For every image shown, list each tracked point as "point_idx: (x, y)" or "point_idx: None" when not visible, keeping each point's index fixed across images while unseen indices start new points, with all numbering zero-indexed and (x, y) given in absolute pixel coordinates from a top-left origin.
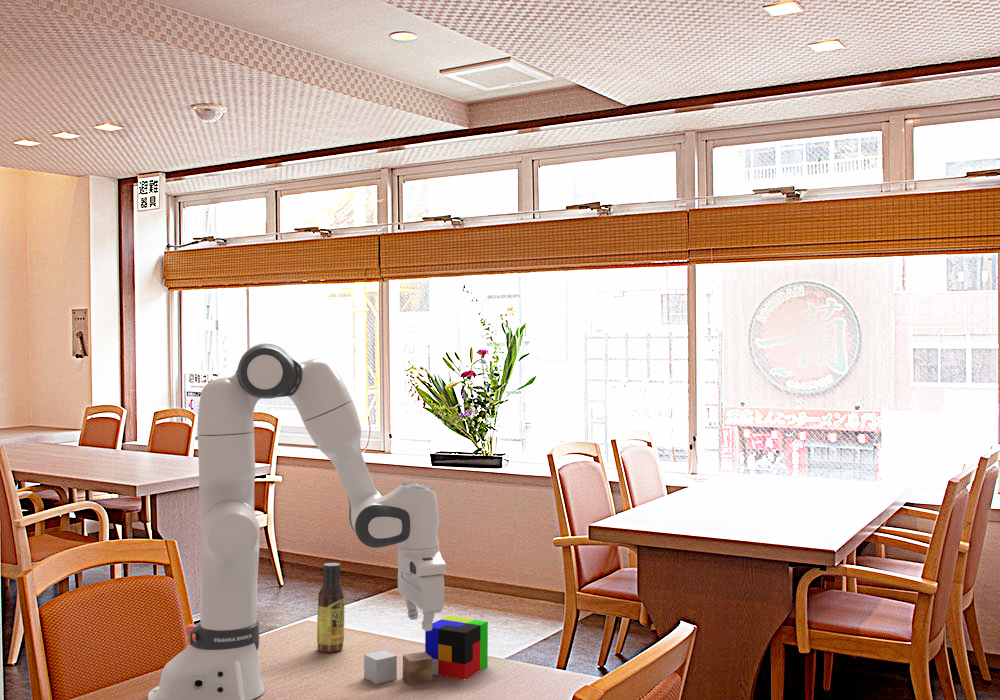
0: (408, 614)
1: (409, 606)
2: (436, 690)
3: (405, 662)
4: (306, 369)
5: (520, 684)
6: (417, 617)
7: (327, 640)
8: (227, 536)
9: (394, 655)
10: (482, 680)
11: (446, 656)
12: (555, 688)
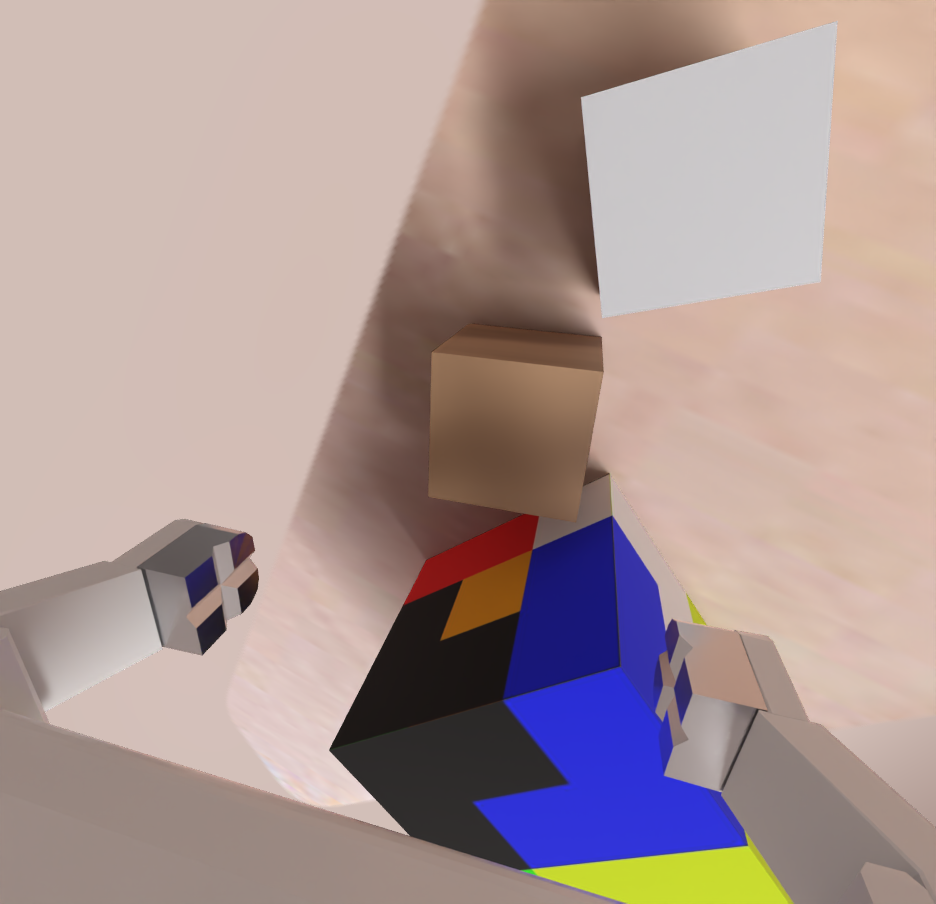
0: (760, 665)
1: (812, 796)
2: (348, 402)
3: (538, 354)
4: None
5: (310, 664)
6: (655, 694)
7: None
8: None
9: (617, 304)
10: (392, 602)
11: (483, 584)
12: (249, 706)
